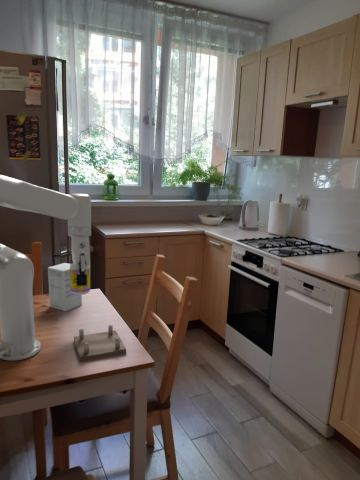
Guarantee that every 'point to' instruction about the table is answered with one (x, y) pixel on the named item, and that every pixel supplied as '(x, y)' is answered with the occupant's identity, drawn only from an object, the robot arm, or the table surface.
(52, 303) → the supplement box
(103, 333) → the board
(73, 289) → the supplement bottle
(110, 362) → the table surface
